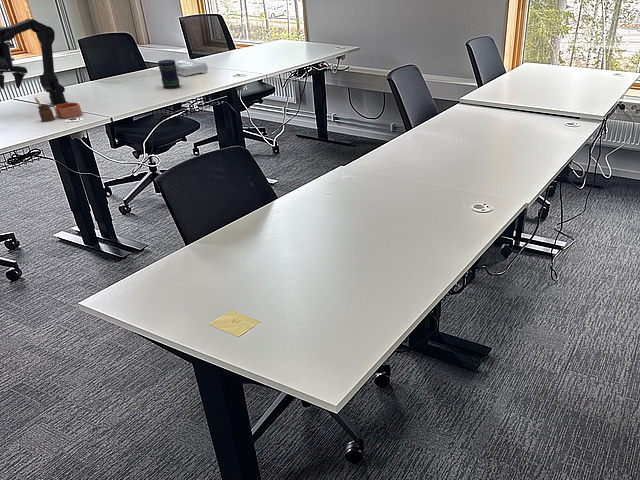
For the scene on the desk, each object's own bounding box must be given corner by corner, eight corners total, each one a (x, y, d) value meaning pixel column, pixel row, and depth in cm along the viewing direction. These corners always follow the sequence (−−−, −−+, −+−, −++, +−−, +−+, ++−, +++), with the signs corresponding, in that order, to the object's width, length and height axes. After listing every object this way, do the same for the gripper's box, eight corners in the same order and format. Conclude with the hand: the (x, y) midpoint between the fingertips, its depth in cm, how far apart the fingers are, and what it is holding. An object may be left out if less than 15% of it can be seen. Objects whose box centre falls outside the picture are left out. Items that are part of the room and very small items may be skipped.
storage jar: (164, 89, 342) (158, 63, 334) (162, 86, 350) (157, 60, 342) (181, 88, 346) (175, 62, 338) (179, 84, 353) (174, 59, 345)
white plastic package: (188, 66, 399) (186, 55, 395) (209, 72, 383) (207, 60, 379) (163, 71, 388) (160, 59, 384) (183, 77, 372) (181, 64, 367)
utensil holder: (57, 118, 290) (49, 94, 283) (48, 121, 285) (40, 97, 278) (47, 117, 291) (39, 93, 284) (38, 121, 286) (30, 96, 279)
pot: (75, 111, 302) (72, 101, 299) (86, 114, 296) (83, 104, 293) (52, 115, 294) (49, 106, 291) (64, 119, 288) (60, 109, 285)
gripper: (-26, 53, 276) (-20, 87, 279) (6, 51, 272) (12, 86, 276) (-6, 57, 286) (0, 89, 290) (25, 55, 283) (31, 88, 287)
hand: (10, 88), depth 285 cm, fingers open, 9 cm apart
